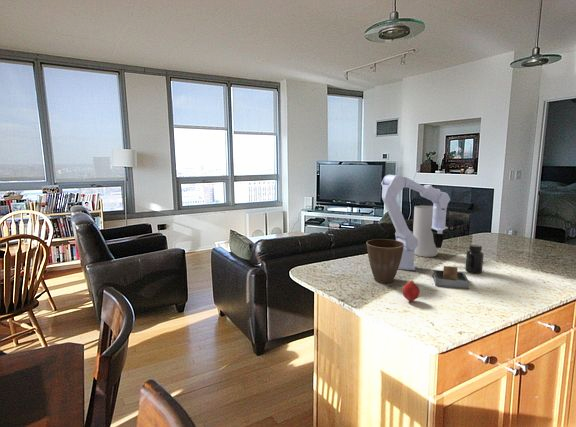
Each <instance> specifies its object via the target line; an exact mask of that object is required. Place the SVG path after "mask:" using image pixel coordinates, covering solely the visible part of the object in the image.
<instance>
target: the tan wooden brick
mask: <svg viewBox="0 0 576 427" xmlns="http://www.w3.org/2000/svg"><path fill="white" fill-rule="evenodd" d="M458 269H459V268H458V266H450V265H449V266H448V265H443V270H442V271H443V279H444V277H447V278H457V272H458Z"/></svg>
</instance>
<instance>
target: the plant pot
mask: <svg viewBox="0 0 576 427" xmlns="http://www.w3.org/2000/svg"><path fill="white" fill-rule="evenodd" d="M403 248H404V243H402V242H400V241H396V239H386V238H376V239H370V240H367V241H366V249H367V255H368V262H369V265H370V270H371V272H372V276H373V279H374V281H375V282H377V283H381V284H390V283H393V282H394V280H395V277H396V275H397V273H398V270H399V269H398V268H399V265H400V261H401V258H402V253H403Z"/></svg>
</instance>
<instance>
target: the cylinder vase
mask: <svg viewBox="0 0 576 427" xmlns="http://www.w3.org/2000/svg"><path fill="white" fill-rule="evenodd" d="M432 219H433V205H415V206H414V209H413V226H412V227H413V228H412V230H413V231H412V233H413V235H414V237H416V238H417V239H418V246H417V248H416V249H415V252H414V256H417V257H425V258H432V257H435V256H438V249H439V248H436V246H435V244H434V239H433V233H432V231H431V229H433V228H431V227H432Z"/></svg>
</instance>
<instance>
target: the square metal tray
mask: <svg viewBox="0 0 576 427" xmlns="http://www.w3.org/2000/svg"><path fill="white" fill-rule="evenodd" d="M432 279H433V283H434V285H435V287H442V288H444V287H445V288H452V289H453V288H454V289H463V290H469V288H470V280H469V279H468V277H467V275H466V274H465V272H464V271H457V278H447V277H444V279H443V270H440V269H433V270H432Z"/></svg>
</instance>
